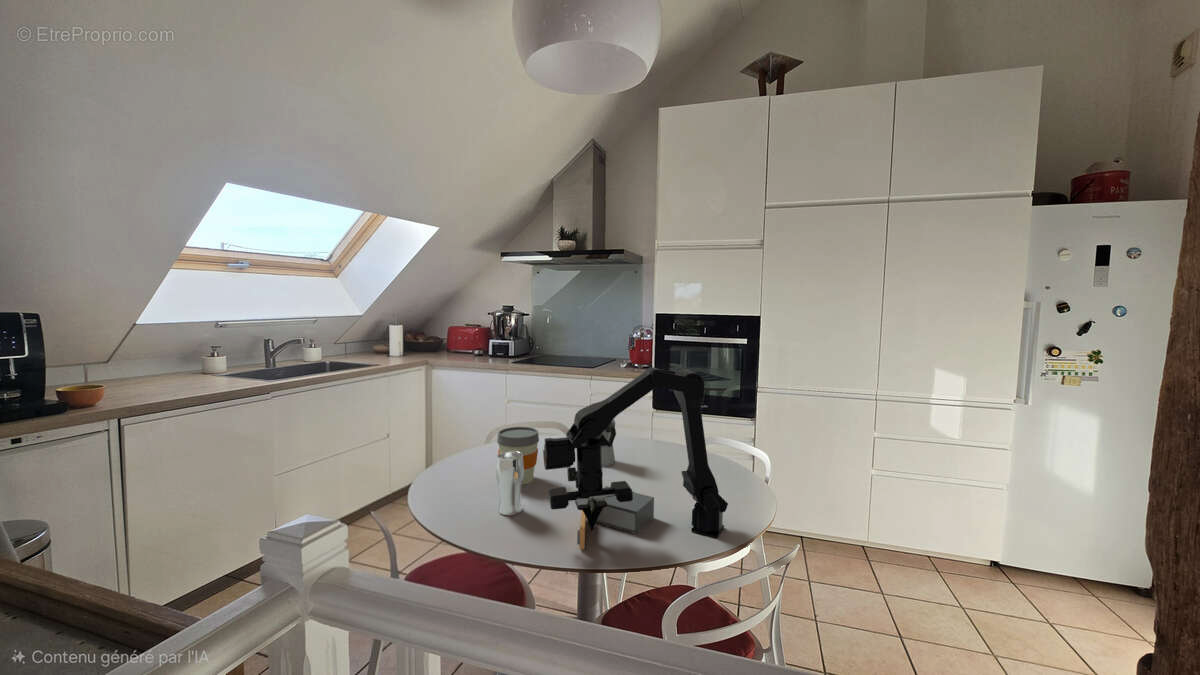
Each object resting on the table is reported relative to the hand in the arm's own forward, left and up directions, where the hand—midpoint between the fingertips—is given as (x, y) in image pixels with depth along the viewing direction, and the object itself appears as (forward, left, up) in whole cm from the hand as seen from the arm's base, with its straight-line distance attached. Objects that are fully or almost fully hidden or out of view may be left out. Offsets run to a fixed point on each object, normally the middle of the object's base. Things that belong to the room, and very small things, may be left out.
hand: (591, 530), depth 113 cm
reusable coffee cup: (+39, -21, -3) cm, 44 cm away
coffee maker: (+24, -48, -3) cm, 53 cm away
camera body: (0, -14, -3) cm, 14 cm away
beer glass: (+27, -3, -3) cm, 27 cm away
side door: (+4, -2, -2) cm, 4 cm away
